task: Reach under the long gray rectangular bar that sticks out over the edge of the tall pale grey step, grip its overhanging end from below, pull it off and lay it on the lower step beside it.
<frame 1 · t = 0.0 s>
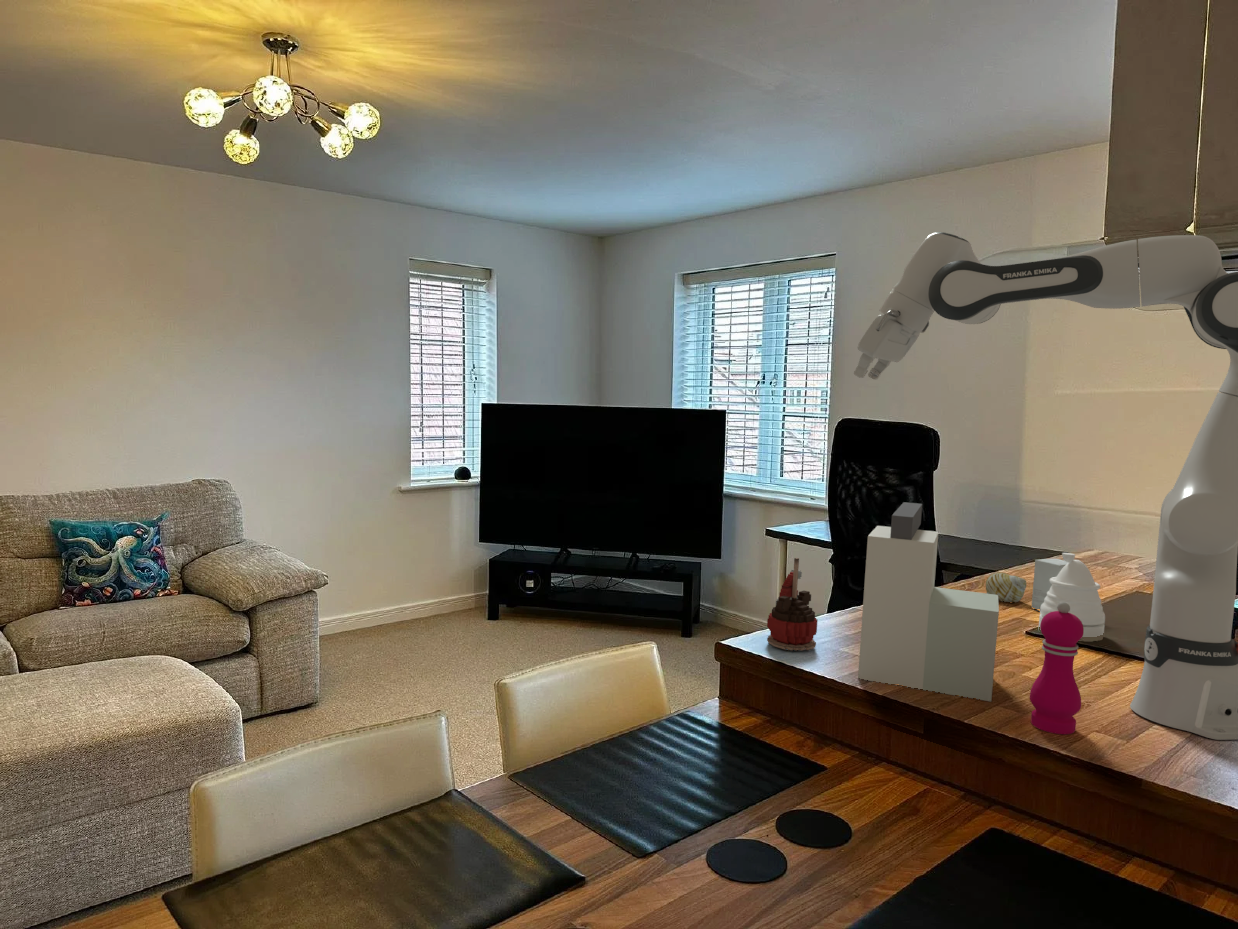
hand: (865, 377, 165), 54 cm above the counter, tool tilted 30°, fingers open, 8 cm apart
yarn ball: (1004, 601, 219), on the counter
gray rectangular bar: (906, 530, 158), point 26 cm above the counter, touching step stand
cake: (791, 647, 170), on the counter
step stand: (893, 673, 156), on the counter
pepper mill: (1052, 728, 133), on the counter
honey pot: (1070, 634, 189), on the counter
supplement box: (1053, 612, 209), on the counter
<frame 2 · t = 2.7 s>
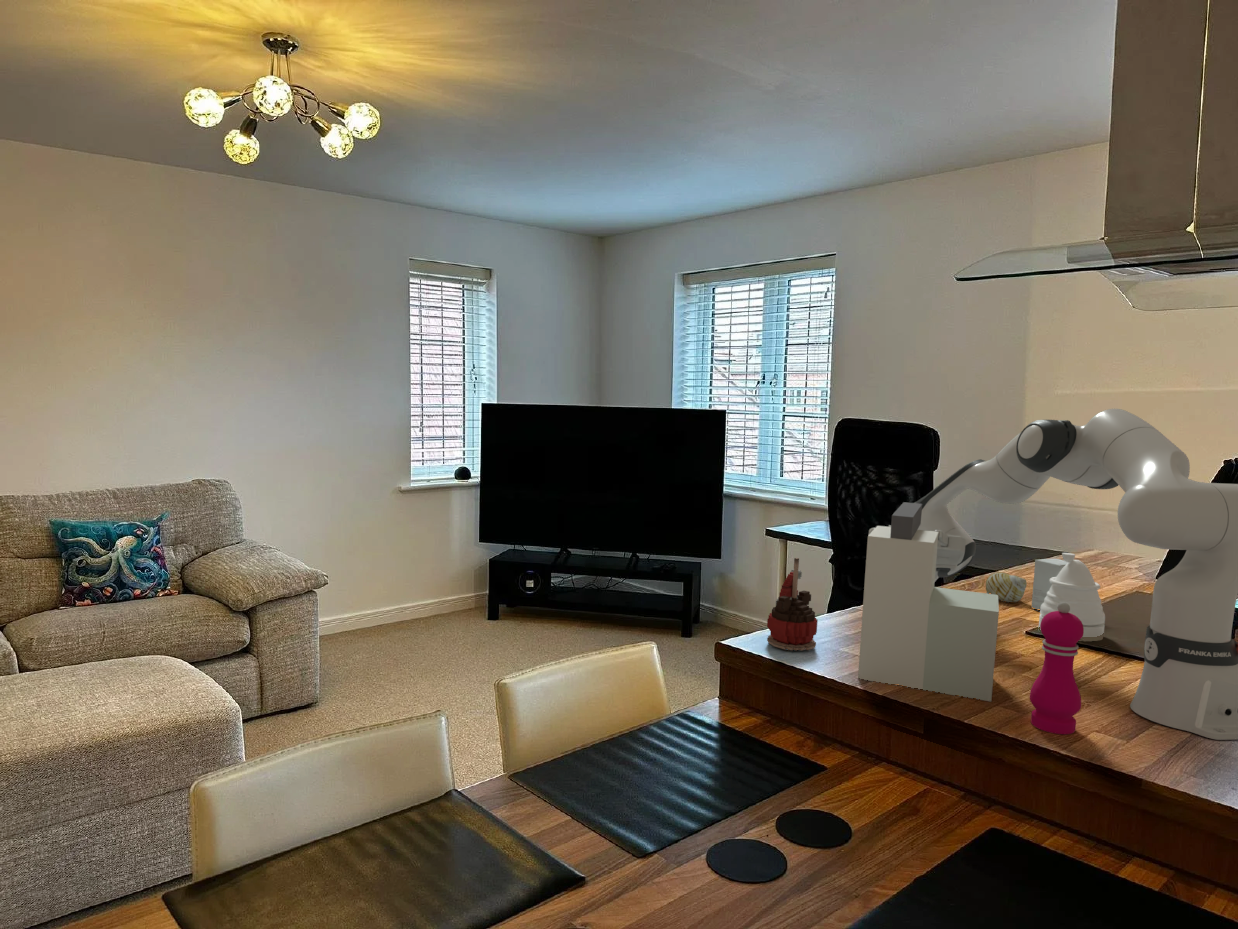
hand: (914, 530, 181), 23 cm above the counter, tool pointing upward, fingers open, 8 cm apart
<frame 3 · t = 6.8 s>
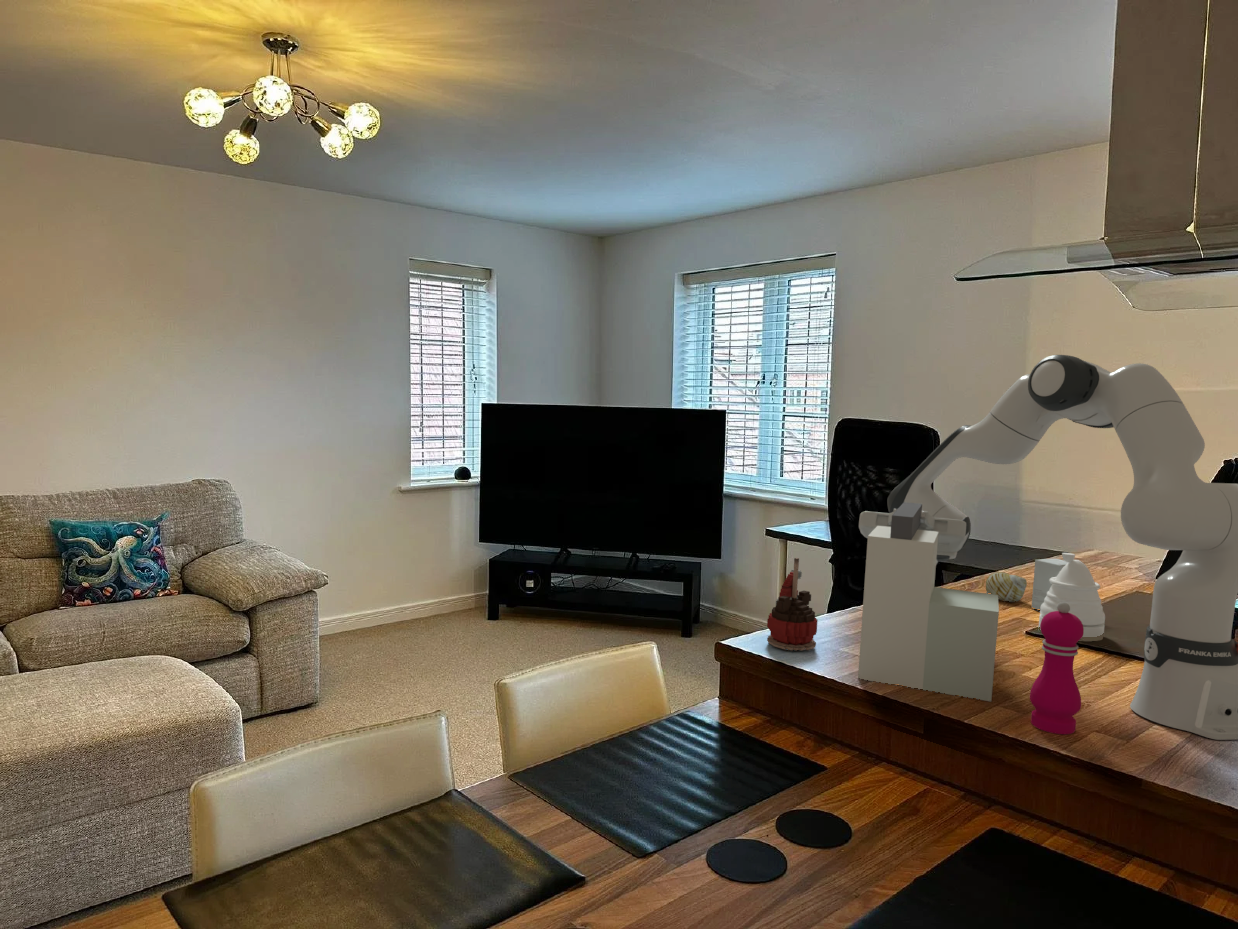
hand: (910, 513, 164), 28 cm above the counter, tool pointing upward, fingers closed on gray rectangular bar, 3 cm apart
gray rectangular bar: (906, 530, 158), point 26 cm above the counter, touching gripper, step stand
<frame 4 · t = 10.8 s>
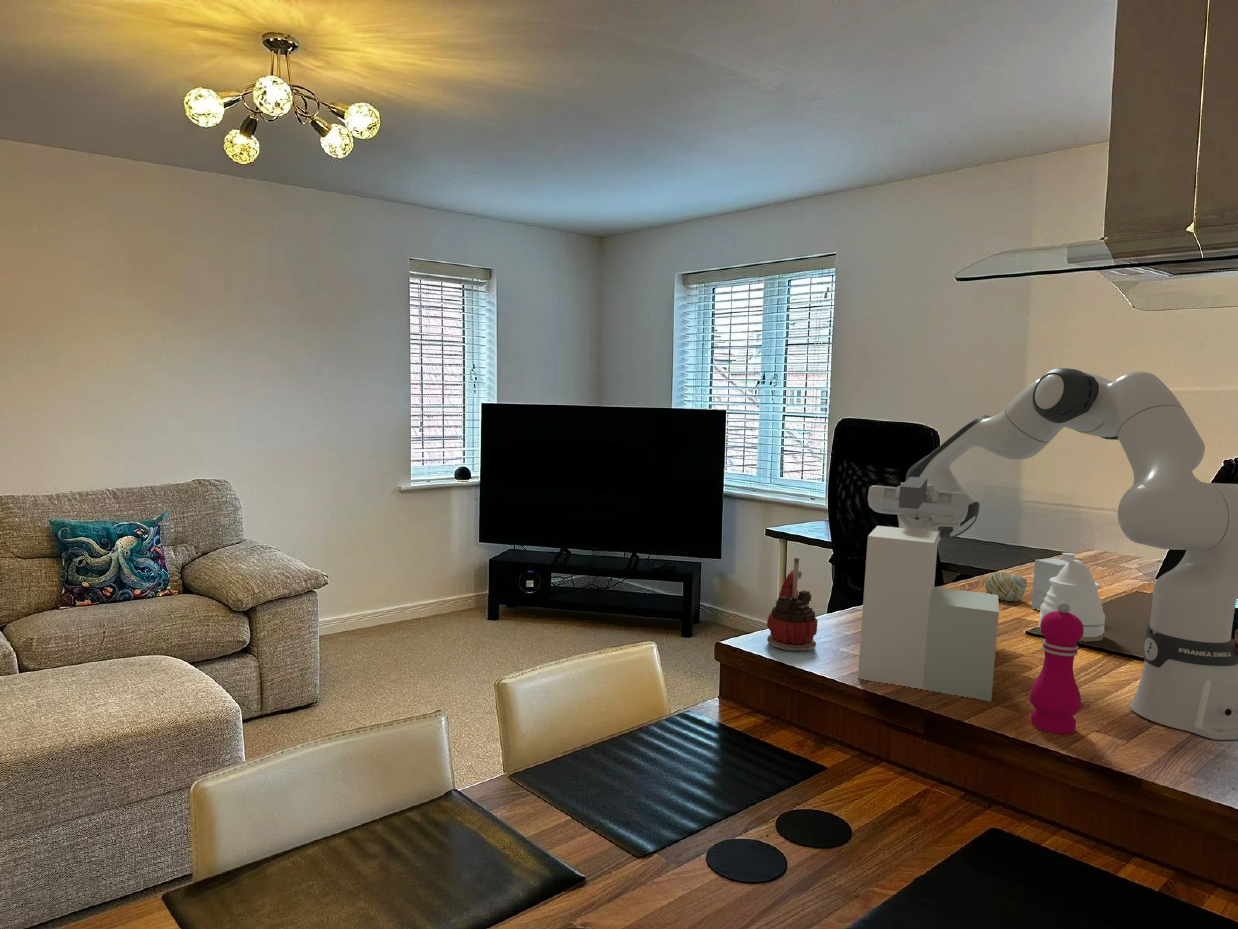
hand: (916, 486, 174), 33 cm above the counter, tool pointing upward, fingers closed on gray rectangular bar, 3 cm apart
gray rectangular bar: (913, 501, 169), point 30 cm above the counter, touching gripper
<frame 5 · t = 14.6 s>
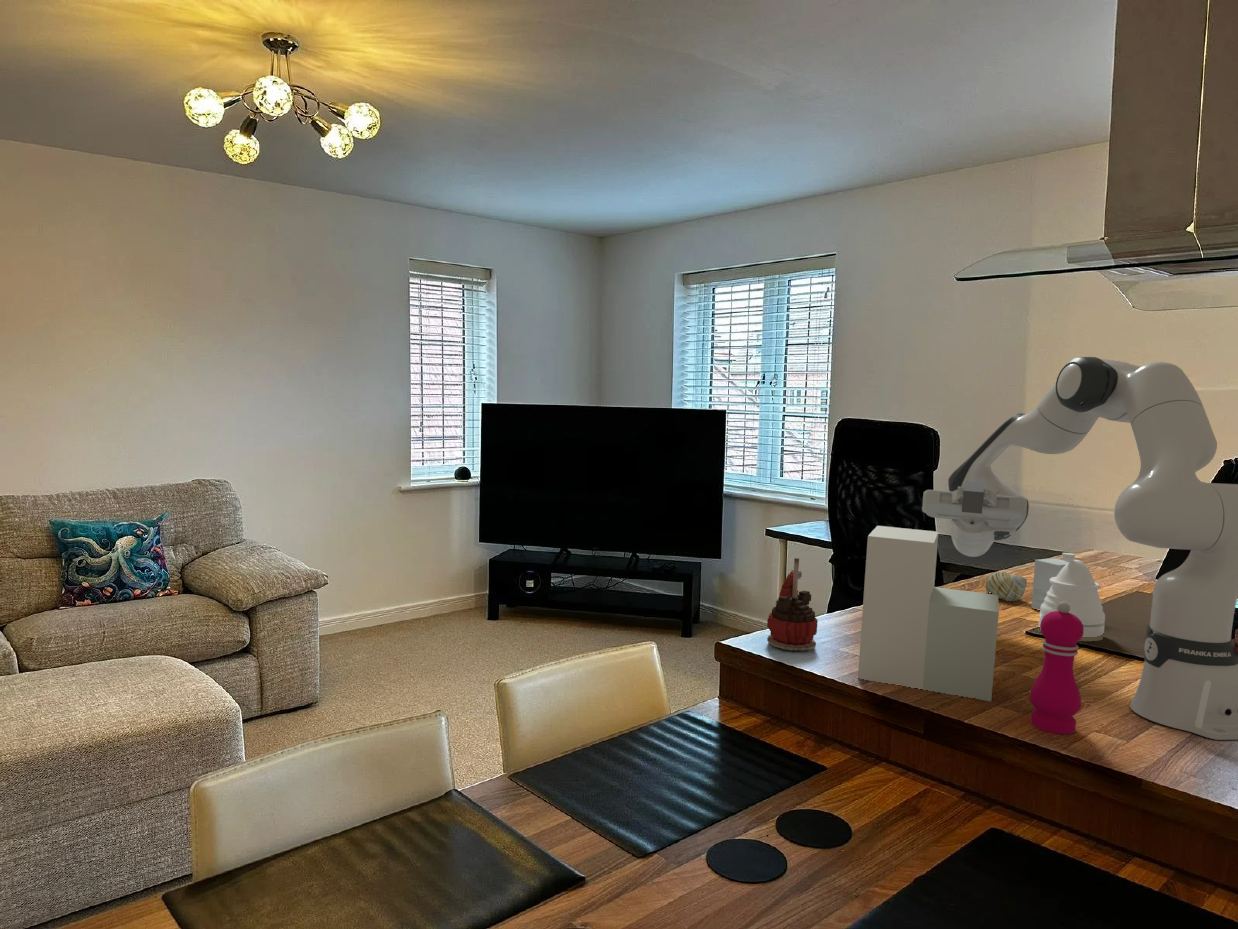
hand: (974, 491, 173), 32 cm above the counter, tool pointing upward, fingers closed on gray rectangular bar, 3 cm apart
gray rectangular bar: (972, 506, 167), point 30 cm above the counter, touching gripper
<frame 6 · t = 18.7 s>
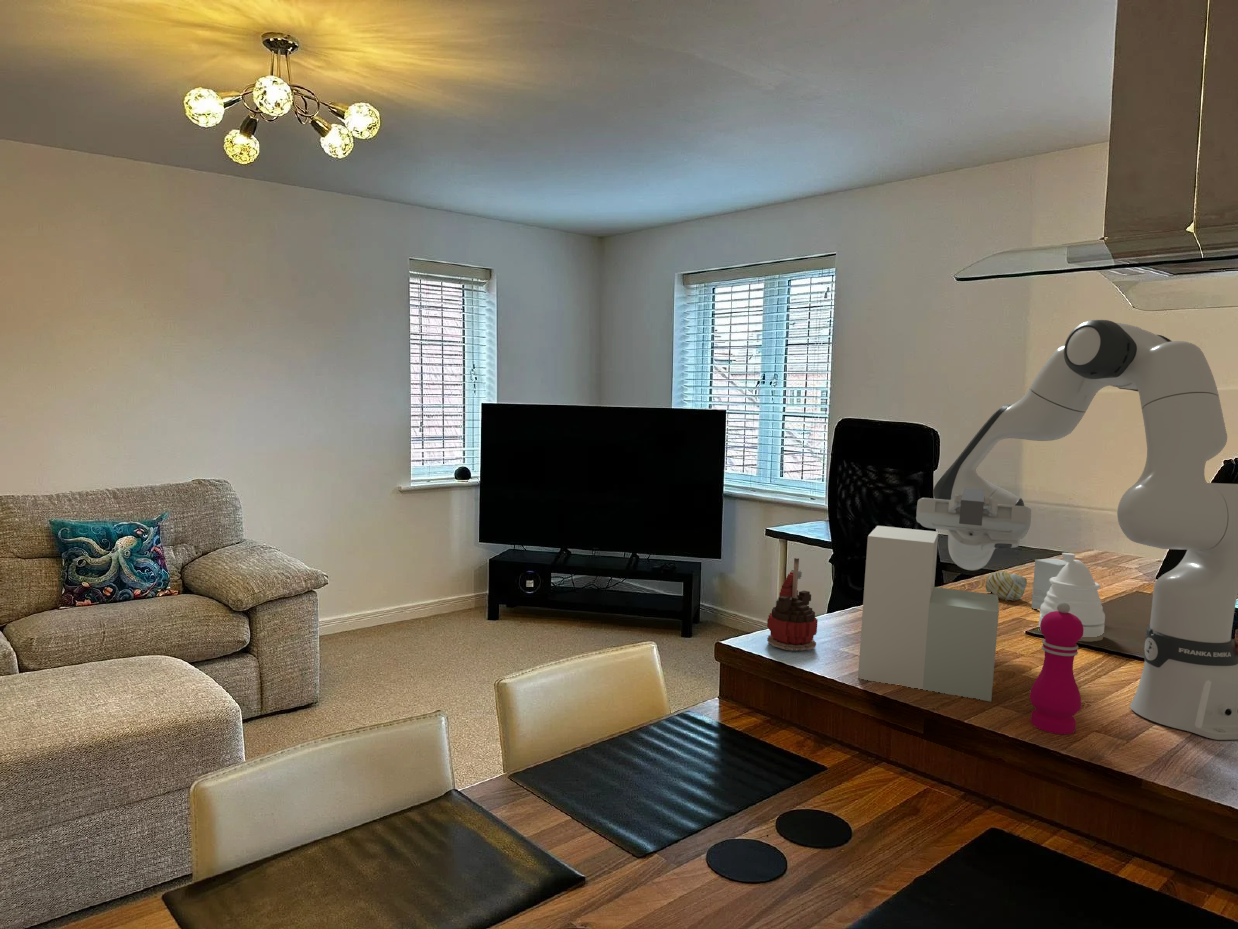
hand: (973, 499, 157), 32 cm above the counter, tool pointing upward, fingers closed on gray rectangular bar, 3 cm apart
gray rectangular bar: (971, 516, 151), point 30 cm above the counter, touching gripper
when the fingers open (19 cm above the counter, at t = 22.4 s): gray rectangular bar drops 2 cm, resting on step stand.
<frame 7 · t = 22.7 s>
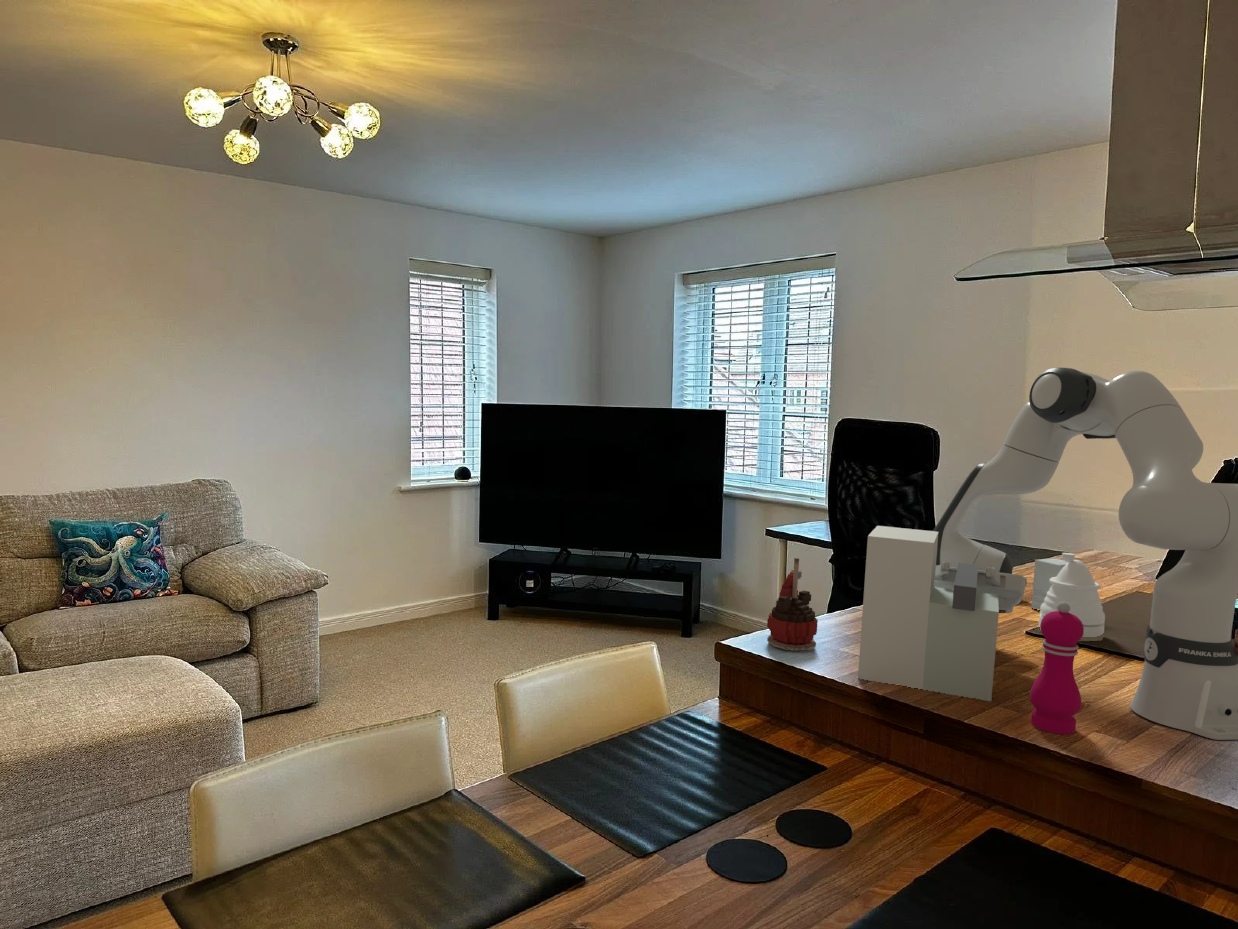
hand: (967, 568, 158), 19 cm above the counter, tool pointing upward, fingers open, 6 cm apart
gray rectangular bar: (965, 596, 153), point 15 cm above the counter, touching step stand
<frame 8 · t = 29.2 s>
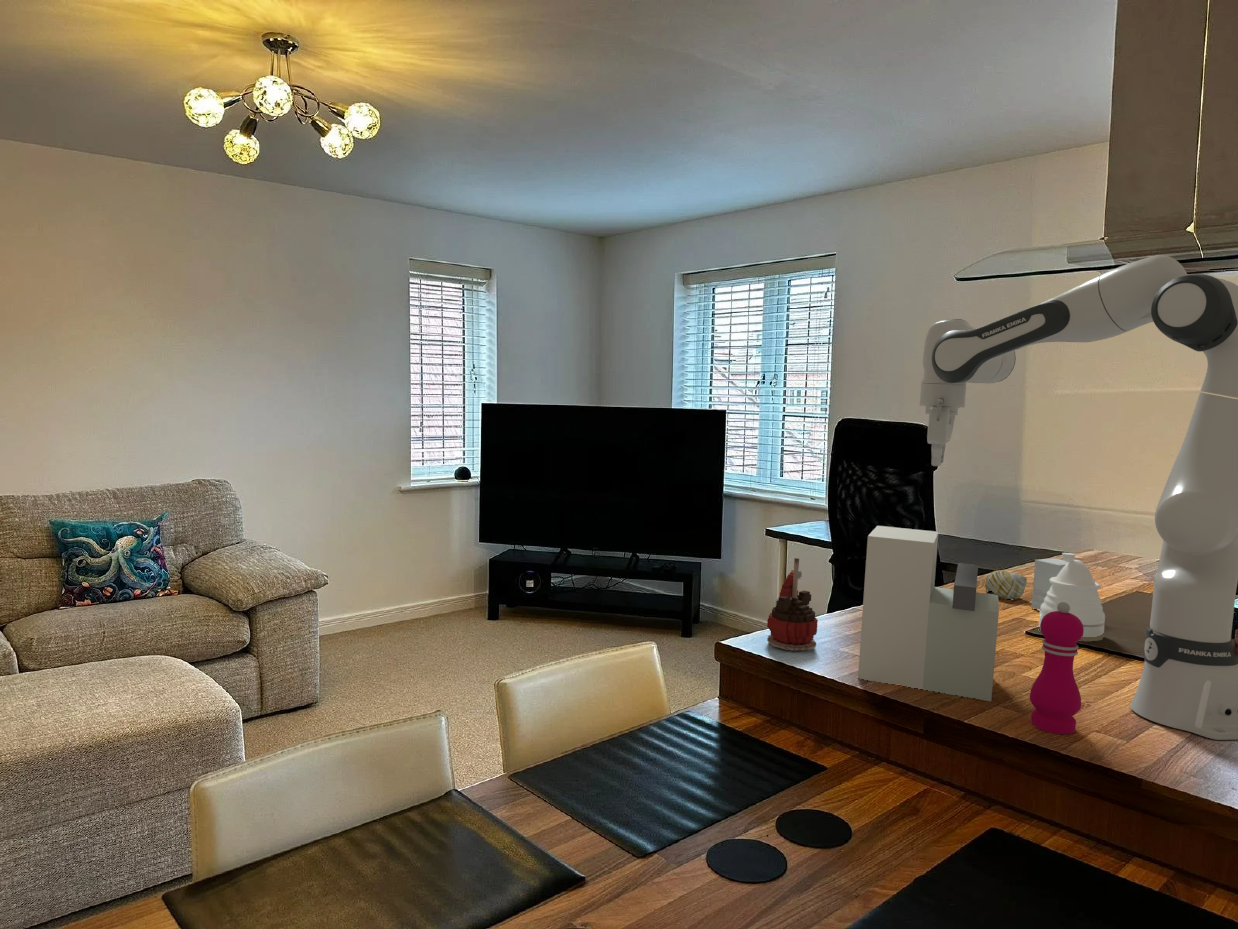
hand: (937, 464, 178), 37 cm above the counter, tool pointing down, fingers open, 8 cm apart
at the end: gray rectangular bar inside the target area on the step stand (0.1 cm from its centre), point 15.5 cm above the step stand's base; gray rectangular bar tilted 0°; the gripper is holding nothing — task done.
